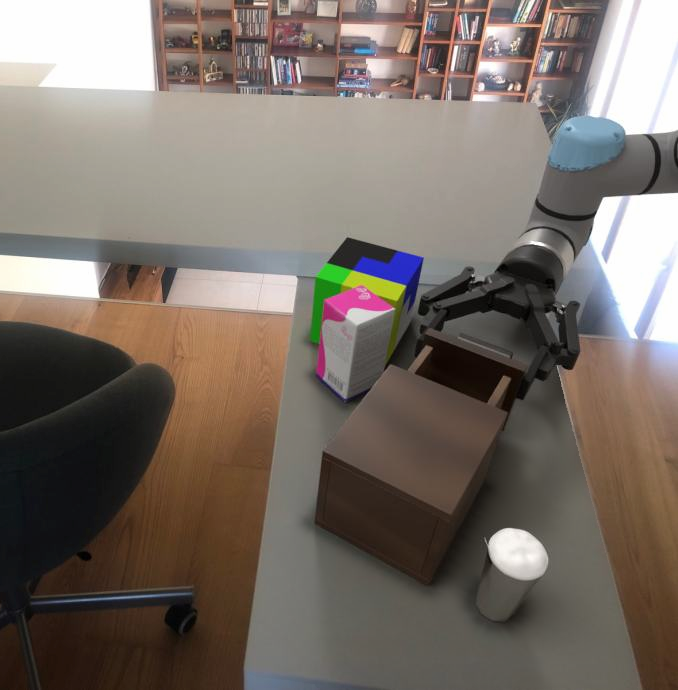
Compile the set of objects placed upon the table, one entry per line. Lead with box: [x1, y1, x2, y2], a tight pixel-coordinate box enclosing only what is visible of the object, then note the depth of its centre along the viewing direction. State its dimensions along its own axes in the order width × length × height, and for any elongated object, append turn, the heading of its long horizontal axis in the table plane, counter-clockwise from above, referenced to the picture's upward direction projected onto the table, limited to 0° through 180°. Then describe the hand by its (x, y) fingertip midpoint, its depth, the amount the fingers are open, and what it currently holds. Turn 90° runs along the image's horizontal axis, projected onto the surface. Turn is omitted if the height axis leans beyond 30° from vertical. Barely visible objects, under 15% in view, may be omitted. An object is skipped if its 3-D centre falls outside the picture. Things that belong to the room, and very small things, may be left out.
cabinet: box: [313, 363, 508, 586], centre depth 66 cm, size 14×12×11 cm
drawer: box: [406, 328, 529, 432], centre depth 73 cm, size 17×11×9 cm, turn 144°
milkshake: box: [475, 527, 549, 622], centre depth 58 cm, size 5×5×10 cm
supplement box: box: [315, 285, 395, 403], centre depth 79 cm, size 6×6×12 cm
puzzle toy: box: [309, 236, 425, 366], centre depth 87 cm, size 10×10×10 cm
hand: (469, 369), depth 74 cm, fingers closed on drawer, 11 cm apart
